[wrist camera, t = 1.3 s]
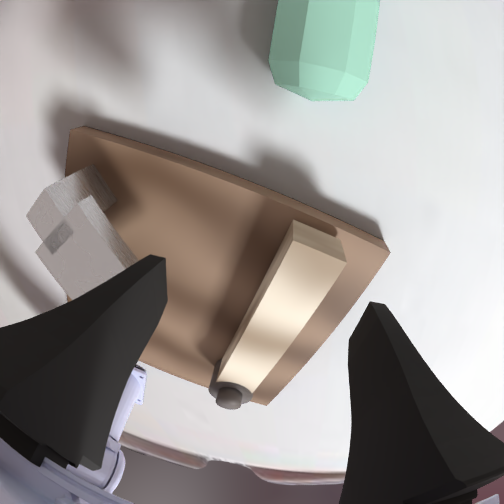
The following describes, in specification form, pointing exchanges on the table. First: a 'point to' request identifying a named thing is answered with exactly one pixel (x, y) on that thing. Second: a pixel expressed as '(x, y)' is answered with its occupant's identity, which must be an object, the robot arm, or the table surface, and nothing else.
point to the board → (215, 252)
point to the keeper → (79, 232)
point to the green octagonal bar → (323, 47)
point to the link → (277, 311)
